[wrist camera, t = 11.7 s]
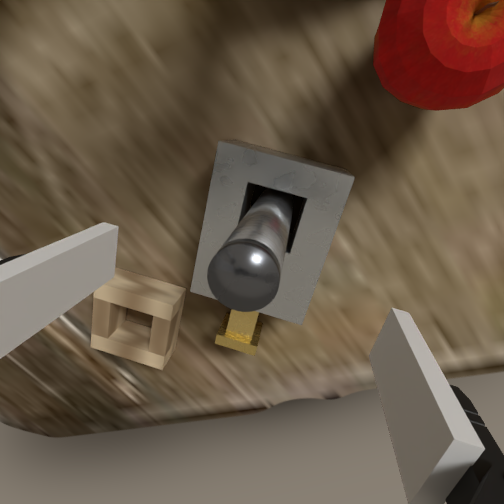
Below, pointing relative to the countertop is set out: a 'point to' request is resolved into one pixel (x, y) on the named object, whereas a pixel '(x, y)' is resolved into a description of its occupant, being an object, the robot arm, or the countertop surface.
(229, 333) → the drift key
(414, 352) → the robot arm
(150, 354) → the wooden square frame
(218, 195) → the socket block
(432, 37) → the apple
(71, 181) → the countertop surface
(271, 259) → the rod
